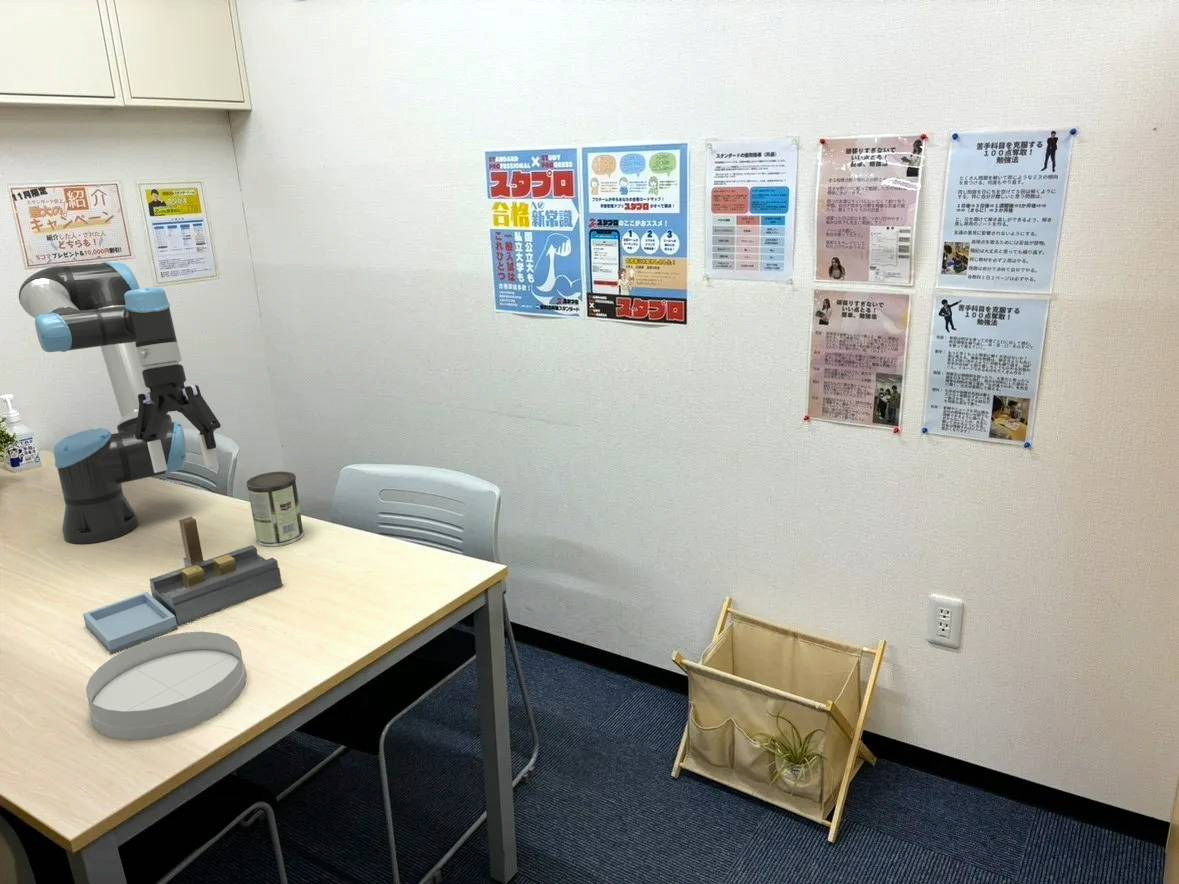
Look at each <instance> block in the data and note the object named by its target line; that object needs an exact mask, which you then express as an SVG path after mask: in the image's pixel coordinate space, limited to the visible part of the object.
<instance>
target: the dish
mask: <svg viewBox="0 0 1179 884" xmlns="http://www.w3.org/2000/svg"><path fill="white" fill-rule="evenodd" d="M242 654H243V653H242V649H241V647H240V645H239V643H238V642H237V641H235V639H233V638H231V637H230V636H229V635H225V634H221V633H218V632H212V631H211V632H210V631H194V632H193V631H190V632H189V631H188V632H187V631H186V632H179V633H175V634H169V635H164V636H159V637H155V638H152V639H150V640H147V641H144V642H142V643H139V644H137V645H134V646H131V647H129V648H126V649H124V651H123V650H122V652H120V653H117V654H116V655H114V656H113V657H111V658H110V659H108V660H107V661H106V662H105V663H103V664H102V665H101V666H98V669H96V670H95V672H93V674H92V675H91V676H90V677H89V680H88V682H87V684H86V687H85V692H86V697H87V701H88V711H89V716H90V721H91V725H92V726H93V728H95V730H96V731H97V732H98V733H99V734H101V735H104V736H107V737H109V738H111V739H117V740H124V741H139V740H152V739H157V738H161V737H166V736H171V735H174V734H177V733H179V732H183V731H186V730H188V729H191V728H194V727H197V726H198V725H201V724H202V723H205V722H206V721H209V720H211V719H212V718H214V717H216V716H217V715H218V714H220V713H221V712H223V711H224V710H226V709H228V707H230V706H231V705H232V703H234V701H236V700H237V698H238V697H240V695H241V693H242V692H243V690H244V688H245V687H246V684H247V683H246V682H247V672H246V671H247V670H246V664H245V663H244V659H243V655H242Z"/></svg>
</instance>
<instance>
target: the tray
mask: <svg viewBox="0 0 1179 884" xmlns="http://www.w3.org/2000/svg"><path fill="white" fill-rule="evenodd" d="M82 617H83V619H84V625H85V627H86V628H87V629H88V631H90V633H92V635H94V637H95V638H96V639H97V640H98V641H99V642H100V643H101V644H102V645H103V647H105V649H106V650H107V651H108V652H109V653H110V654H111V655H113V654H115V653H118V652H121V651H123V650H124V651H125V650H127V649H129V648H131V647H134V646H136V645H139V644H141V643H144V642H146V641H149V640H153V639H156V638H159V637H161V636H162V635H165V634H168V633H171V632H173V631H176V630H178V625H177V623H176V618H175V616H174V615H173V614H172V613H171V612H169V611H168V610H167V609H166V608H165V607H164V606H163V605H161V604H160V603H159V602H158V601H157V600H156V599H154V598H153V597H152V594H150V593H149V592H142V593H139V594H137V595H133V596H131V597H127V598H124V599H122V600H119V601H115V602H113V603H111V604H107V605H105V606H101V607H99V608H95V609H93V610H91V611H88V612H84V613H82Z"/></svg>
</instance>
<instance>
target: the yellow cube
mask: <svg viewBox="0 0 1179 884" xmlns="http://www.w3.org/2000/svg"><path fill="white" fill-rule="evenodd" d="M213 564H214V569H215V574H217V575H218V576H222V575H224V574H227V573H230V572H233V571H236V570H237V569H236V564H235V559H234V558H233V557H231V556H230V555H225V556H222V557H219V558H216V559H213Z"/></svg>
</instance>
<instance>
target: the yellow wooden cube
mask: <svg viewBox="0 0 1179 884" xmlns="http://www.w3.org/2000/svg"><path fill="white" fill-rule="evenodd" d="M181 573H182V578H183V584H184V585H185V586H186V587H190V586H193V585H196V584H199V583H202V582H204V581H206V580H205V575H204V570H203V569H202V568H201V567H199V566H198V565H195V566H192V567H189V568H186V569H183V570H181Z"/></svg>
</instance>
